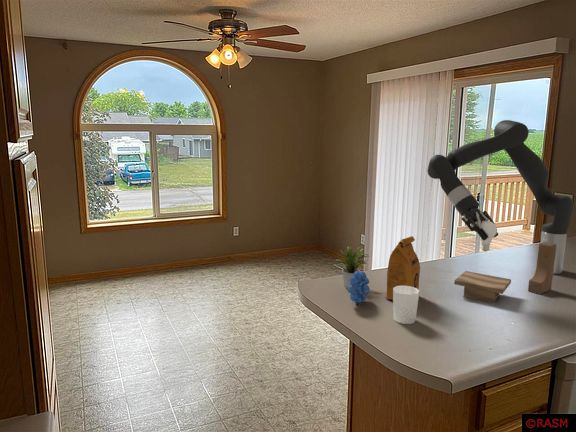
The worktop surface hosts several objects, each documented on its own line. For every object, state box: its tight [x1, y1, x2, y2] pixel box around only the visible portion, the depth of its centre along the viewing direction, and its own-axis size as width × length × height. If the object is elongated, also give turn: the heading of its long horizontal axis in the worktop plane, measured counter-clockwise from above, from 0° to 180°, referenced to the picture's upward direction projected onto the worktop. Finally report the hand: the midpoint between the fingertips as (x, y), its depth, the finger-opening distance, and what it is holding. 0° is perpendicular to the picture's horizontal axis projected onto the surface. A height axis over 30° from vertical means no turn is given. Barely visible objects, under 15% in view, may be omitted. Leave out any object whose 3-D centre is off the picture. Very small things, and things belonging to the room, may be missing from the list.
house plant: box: [336, 244, 370, 289], centre depth 164 cm, size 14×14×16 cm
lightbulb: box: [480, 221, 498, 252], centre depth 154 cm, size 6×6×11 cm
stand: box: [453, 270, 512, 303], centre depth 157 cm, size 14×16×6 cm
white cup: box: [392, 286, 420, 325], centre depth 136 cm, size 8×8×10 cm
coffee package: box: [386, 235, 421, 301], centre depth 153 cm, size 10×12×22 cm
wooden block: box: [527, 242, 557, 295], centre depth 162 cm, size 9×4×18 cm, turn 125°
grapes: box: [347, 270, 371, 305], centre depth 148 cm, size 12×7×12 cm, turn 139°
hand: (491, 237), depth 153 cm, fingers closed on lightbulb, 6 cm apart
